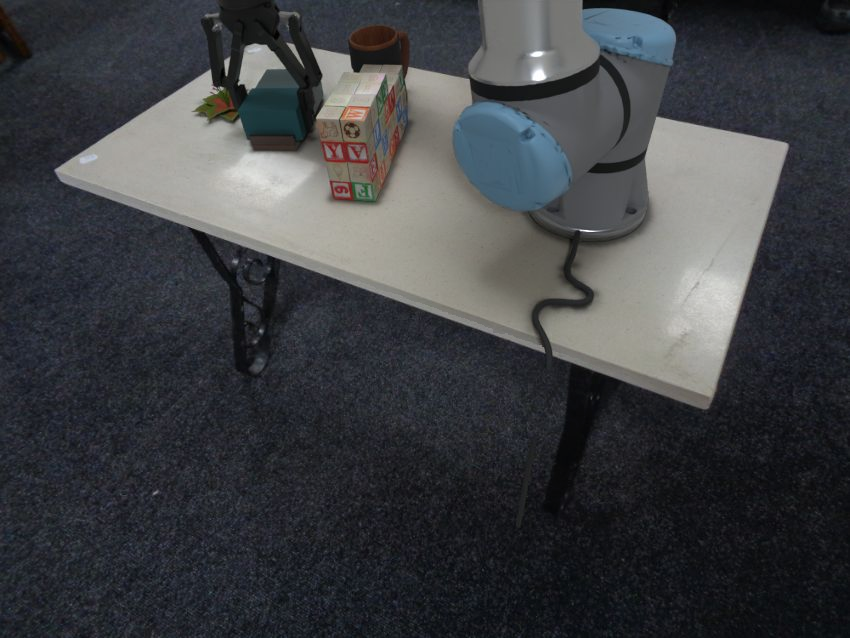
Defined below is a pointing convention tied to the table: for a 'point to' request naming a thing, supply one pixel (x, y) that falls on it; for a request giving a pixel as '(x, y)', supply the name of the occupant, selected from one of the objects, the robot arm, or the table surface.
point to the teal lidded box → (280, 141)
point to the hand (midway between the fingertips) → (280, 127)
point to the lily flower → (218, 105)
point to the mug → (379, 48)
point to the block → (272, 112)
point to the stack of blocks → (363, 130)
